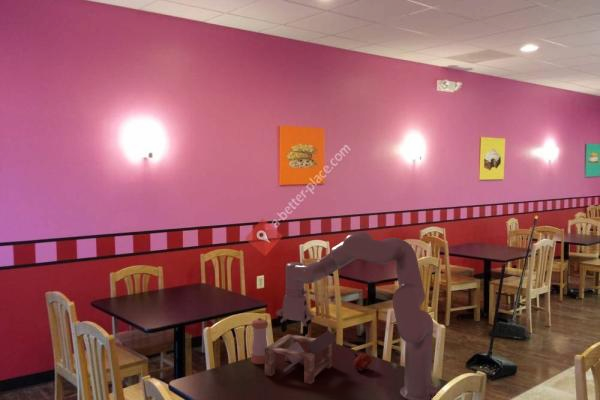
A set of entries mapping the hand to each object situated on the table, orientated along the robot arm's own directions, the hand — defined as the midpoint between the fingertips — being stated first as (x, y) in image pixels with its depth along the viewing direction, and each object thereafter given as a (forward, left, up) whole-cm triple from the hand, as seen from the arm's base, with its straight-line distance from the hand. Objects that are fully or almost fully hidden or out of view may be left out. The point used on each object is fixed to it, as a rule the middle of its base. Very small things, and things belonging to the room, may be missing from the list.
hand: (294, 333), depth 221 cm
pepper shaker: (+18, -2, -16) cm, 24 cm away
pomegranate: (-26, -12, -16) cm, 33 cm away
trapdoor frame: (-2, 0, -16) cm, 16 cm away
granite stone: (-2, 0, -10) cm, 10 cm away
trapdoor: (-8, 0, -9) cm, 12 cm away
